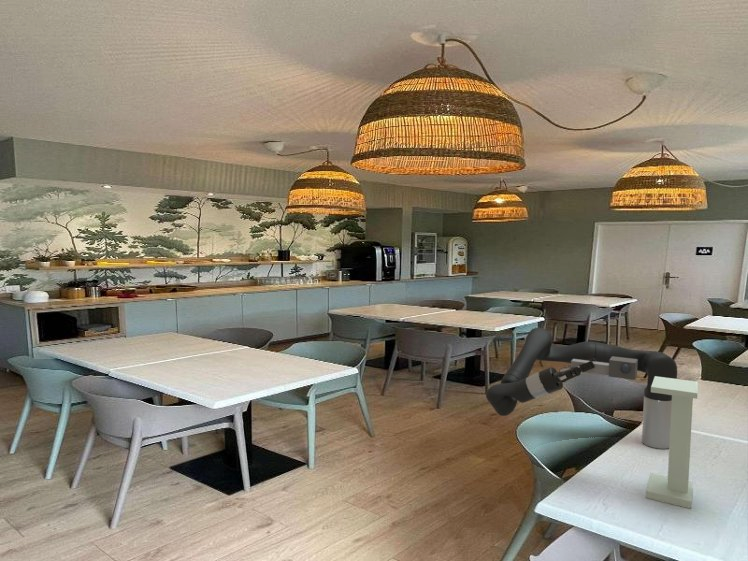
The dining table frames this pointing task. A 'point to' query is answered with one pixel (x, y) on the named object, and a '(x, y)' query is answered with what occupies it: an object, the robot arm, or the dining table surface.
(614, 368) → the grey block with bar
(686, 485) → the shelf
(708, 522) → the dining table surface
